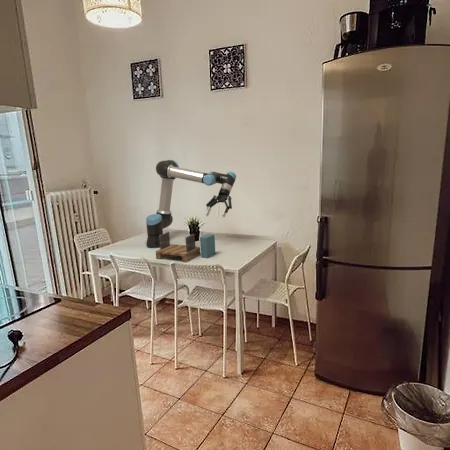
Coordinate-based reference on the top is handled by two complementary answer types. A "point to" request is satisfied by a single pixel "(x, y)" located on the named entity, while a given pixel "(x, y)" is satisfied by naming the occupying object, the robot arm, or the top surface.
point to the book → (207, 245)
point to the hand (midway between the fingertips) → (214, 215)
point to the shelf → (177, 248)
